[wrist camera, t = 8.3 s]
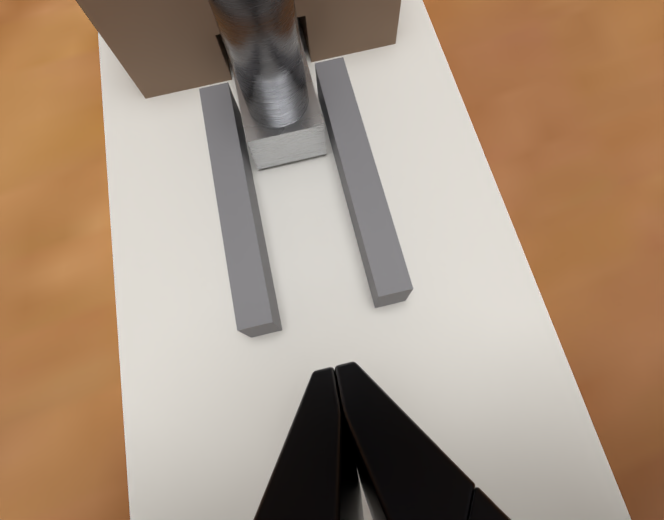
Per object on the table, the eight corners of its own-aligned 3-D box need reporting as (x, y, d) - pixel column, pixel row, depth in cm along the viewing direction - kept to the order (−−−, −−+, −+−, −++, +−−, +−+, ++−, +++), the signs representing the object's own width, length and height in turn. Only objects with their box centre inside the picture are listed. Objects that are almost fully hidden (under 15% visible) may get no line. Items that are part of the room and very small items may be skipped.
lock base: (634, 587, 14) (1207, 991, 4) (167, 710, 13) (-241, 1437, 4) (393, -37, 23) (421, -320, 14) (112, 23, 22) (-52, -228, 13)
